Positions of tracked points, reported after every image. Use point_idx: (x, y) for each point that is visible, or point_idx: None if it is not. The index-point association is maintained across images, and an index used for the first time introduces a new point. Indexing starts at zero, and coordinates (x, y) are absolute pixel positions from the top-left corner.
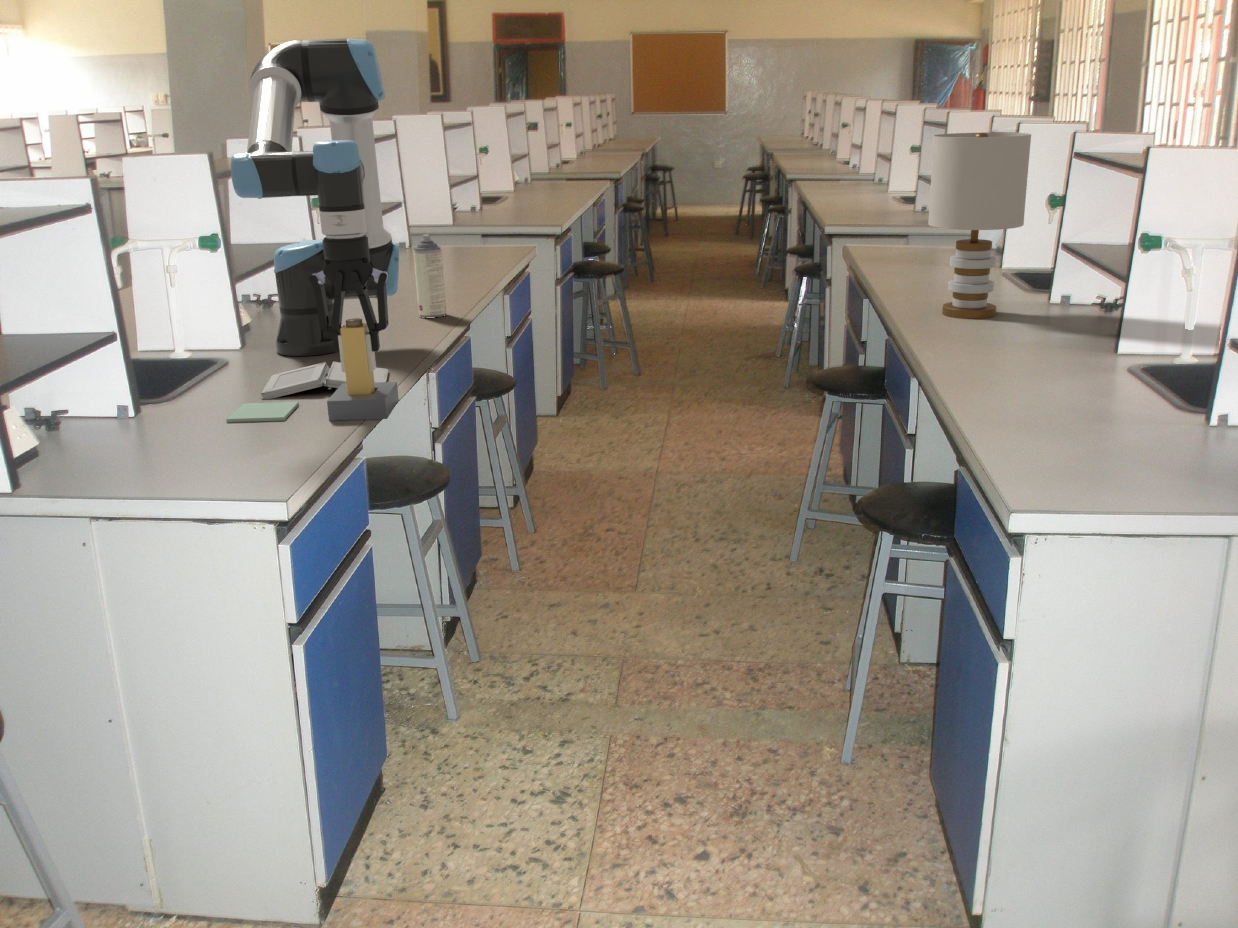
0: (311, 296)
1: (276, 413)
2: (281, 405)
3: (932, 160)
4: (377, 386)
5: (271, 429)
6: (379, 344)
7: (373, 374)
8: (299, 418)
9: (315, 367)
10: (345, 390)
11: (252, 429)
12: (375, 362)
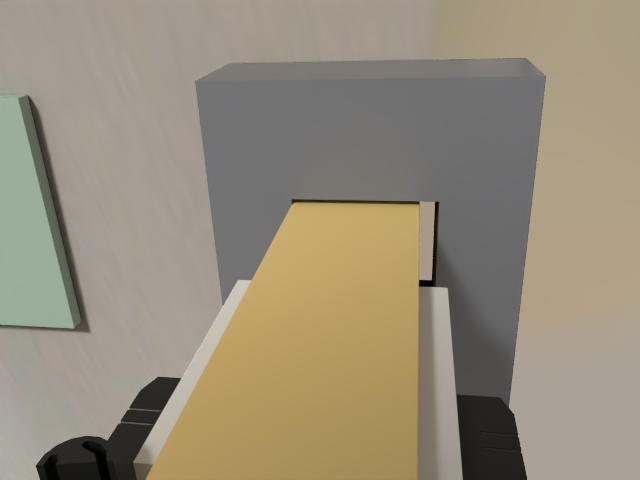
0: None
1: (18, 275)
2: None
3: None
4: (429, 177)
5: (87, 409)
6: (516, 436)
7: (418, 240)
8: (125, 299)
9: None
10: (264, 239)
11: (22, 398)
12: (448, 311)
